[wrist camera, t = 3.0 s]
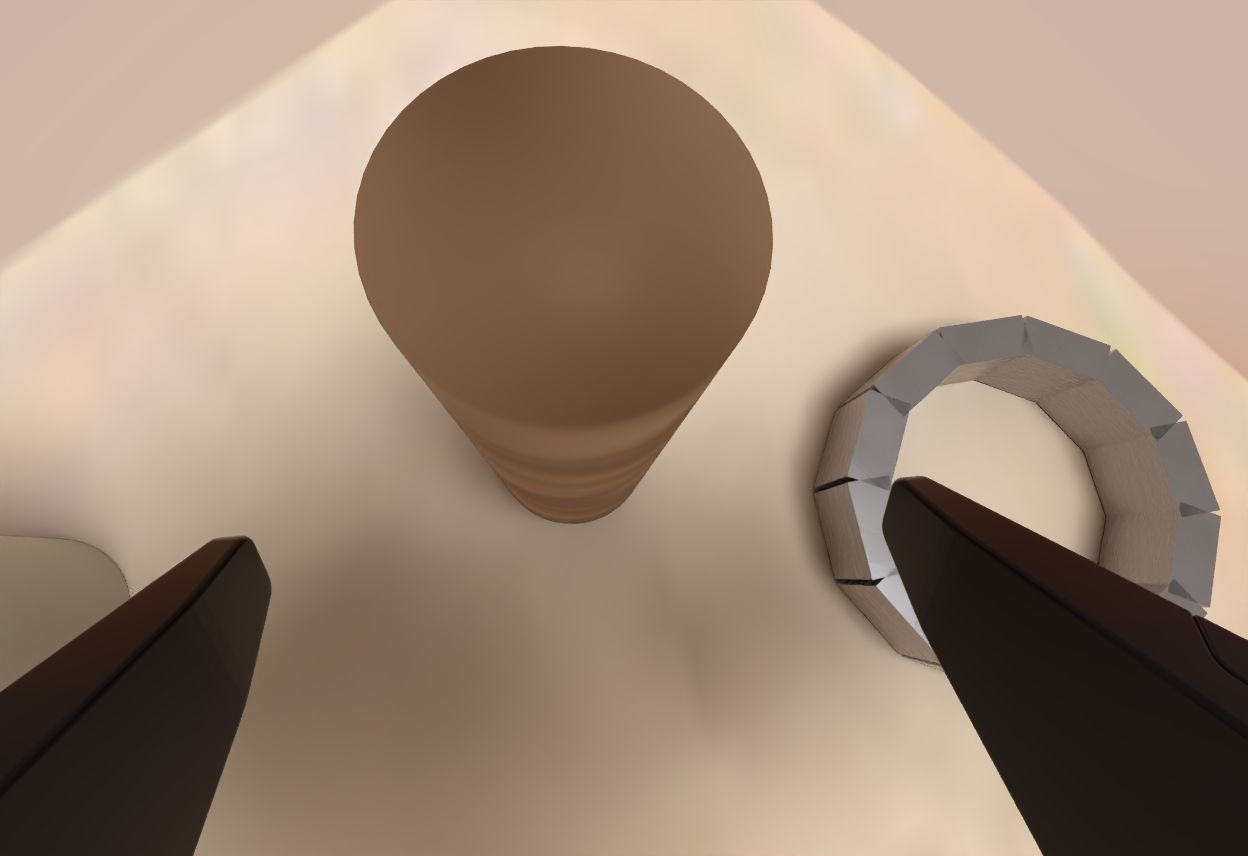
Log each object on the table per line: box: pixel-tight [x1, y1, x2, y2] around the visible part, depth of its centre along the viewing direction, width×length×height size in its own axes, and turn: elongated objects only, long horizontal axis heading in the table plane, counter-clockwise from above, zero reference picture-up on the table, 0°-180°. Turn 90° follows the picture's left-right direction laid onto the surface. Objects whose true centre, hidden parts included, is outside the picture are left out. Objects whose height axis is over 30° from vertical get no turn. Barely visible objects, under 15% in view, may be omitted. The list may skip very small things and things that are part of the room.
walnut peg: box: [354, 46, 773, 524], centre depth 13 cm, size 4×4×13 cm
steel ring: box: [814, 315, 1221, 672], centre depth 19 cm, size 10×10×2 cm
